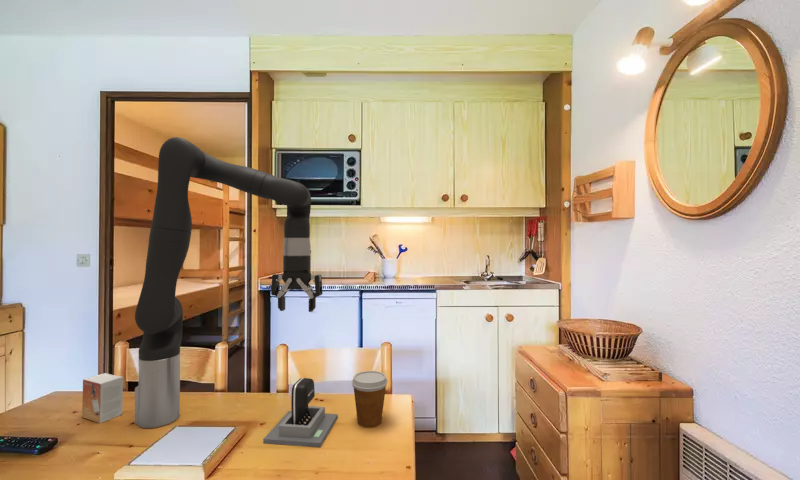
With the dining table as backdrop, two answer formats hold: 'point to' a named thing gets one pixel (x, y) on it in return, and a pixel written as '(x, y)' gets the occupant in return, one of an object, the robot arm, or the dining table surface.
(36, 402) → the dining table surface
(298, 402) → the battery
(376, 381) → the disposable coffee cup
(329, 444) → the dining table surface
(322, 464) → the dining table surface
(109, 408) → the small box
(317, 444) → the dock
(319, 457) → the dining table surface
